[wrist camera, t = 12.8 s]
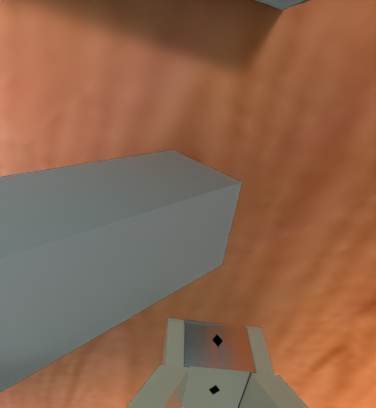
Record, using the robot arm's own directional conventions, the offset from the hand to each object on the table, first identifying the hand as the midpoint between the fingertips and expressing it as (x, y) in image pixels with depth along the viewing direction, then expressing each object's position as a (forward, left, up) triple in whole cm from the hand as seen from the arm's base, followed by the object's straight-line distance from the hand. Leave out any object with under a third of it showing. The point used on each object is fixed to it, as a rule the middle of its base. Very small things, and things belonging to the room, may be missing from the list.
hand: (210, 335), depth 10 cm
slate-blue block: (0, 0, -9) cm, 9 cm away
